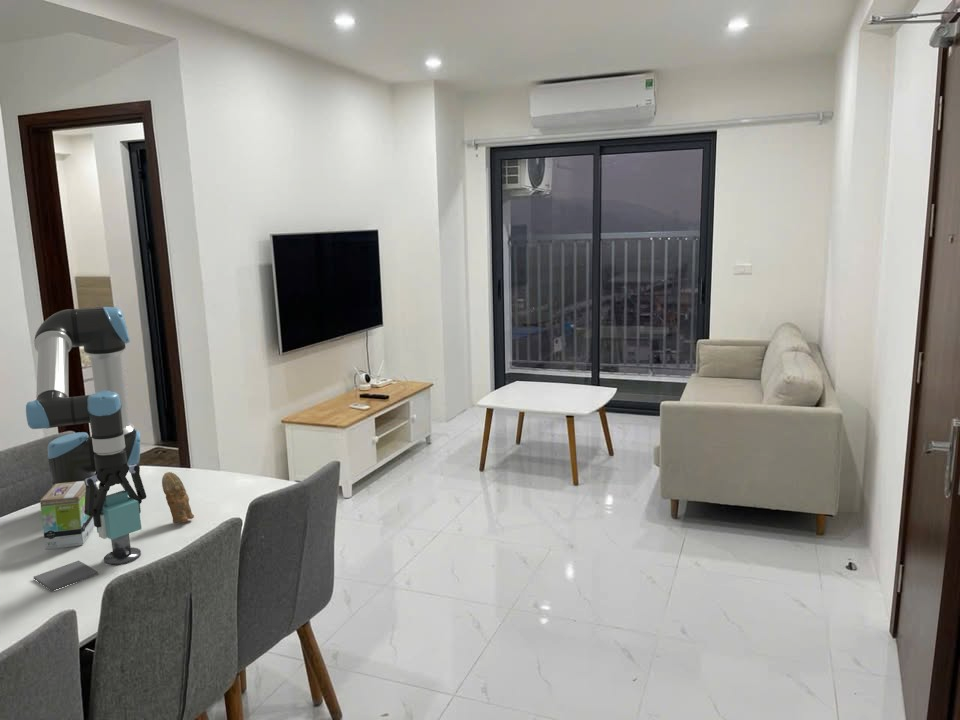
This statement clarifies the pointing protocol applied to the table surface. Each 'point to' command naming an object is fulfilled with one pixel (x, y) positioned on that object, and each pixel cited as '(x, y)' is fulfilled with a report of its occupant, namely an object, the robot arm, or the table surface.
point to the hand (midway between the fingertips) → (119, 531)
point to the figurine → (176, 497)
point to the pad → (66, 575)
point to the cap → (120, 515)
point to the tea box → (65, 515)
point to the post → (121, 552)
